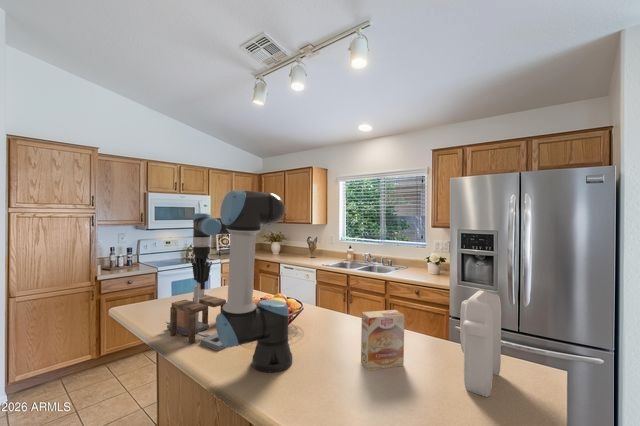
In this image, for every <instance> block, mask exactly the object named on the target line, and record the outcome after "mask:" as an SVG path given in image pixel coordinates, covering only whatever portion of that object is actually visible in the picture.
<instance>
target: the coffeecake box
mask: <svg viewBox="0 0 640 426" xmlns="http://www.w3.org/2000/svg"><path fill="white" fill-rule="evenodd" d="M360 335H361V337H360V338H361V339H360V343H361V344H360V347H361V348H360V363H361V364H362V365H363V366H364V368H365V369H366V370H367V371H368V370H369V371H375V370H374V369H376V370H381V369H382V368H384V369H391V368H397V366H399V367H403V366H404V361H405V360H404V358H405V357H404V355H405V354H404V351H405V348H404V347H405V314H403V312H400V311H398V310H396V309H390V310H389V309H388V310H387V309H386V310H378V311H377V310H375V311H374V310H373V311H361V333H360ZM390 367H391V368H390Z"/></svg>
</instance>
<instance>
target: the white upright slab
mask: <svg viewBox="0 0 640 426" xmlns="http://www.w3.org/2000/svg"><path fill="white" fill-rule="evenodd" d="M459 316H460V322H459V323H460V324H459V325H460V329H459V330H460V331H459V333H460V334H459V335H460V337H459V338H460V347H461V351H462V354H463V383H464V388H465V390H466V391H468V392H471V393H473V394H476V395H479V396H481V395H482V396H483V397H484V396H485V397H484V398H488V396H489V397H490V396H491V393H492V389H493V377H494V376H493V375H495V376H497V377H498V376H499V375H500V372H501V363H502V362H501V361H502V358H501V357H502V355H501V354H502V353H501V352H502V351H501V350H502V316H503V315H502V303H501V297H500V295H499V294H495V293H491V292H488V291H486V290H480V289H479V290H478V291H477V292H475V293H474V294H472V295H471V296H470V297H469V298H468V299H465V300H464V299H463V301H462V302H461V306H460V315H459Z"/></svg>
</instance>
